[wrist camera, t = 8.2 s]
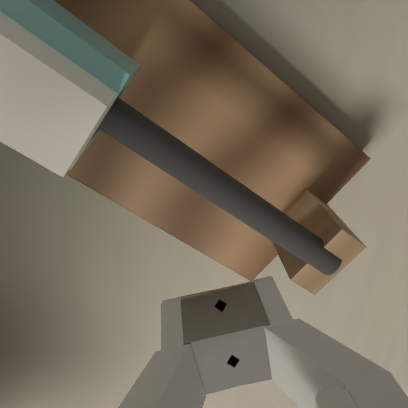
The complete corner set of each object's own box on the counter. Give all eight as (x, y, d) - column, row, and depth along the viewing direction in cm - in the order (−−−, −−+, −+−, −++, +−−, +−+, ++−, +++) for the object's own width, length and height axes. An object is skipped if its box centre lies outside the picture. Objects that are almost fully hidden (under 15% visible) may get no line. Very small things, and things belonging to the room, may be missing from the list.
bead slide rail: (339, 222, 20) (372, 259, 17) (296, 264, 22) (319, 307, 18) (-119, -118, 12) (-231, -178, 9) (-148, -19, 13) (-257, -38, 10)
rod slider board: (361, 152, 23) (425, 192, 17) (248, 271, 27) (269, 336, 21) (-30, -189, 14) (-165, -339, 9) (-116, 57, 18) (-251, 67, 12)
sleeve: (140, 65, 16) (121, 83, 10) (93, 139, 17) (51, 195, 11) (50, -3, 14) (-39, -31, 8) (6, 84, 16) (-97, 115, 10)
